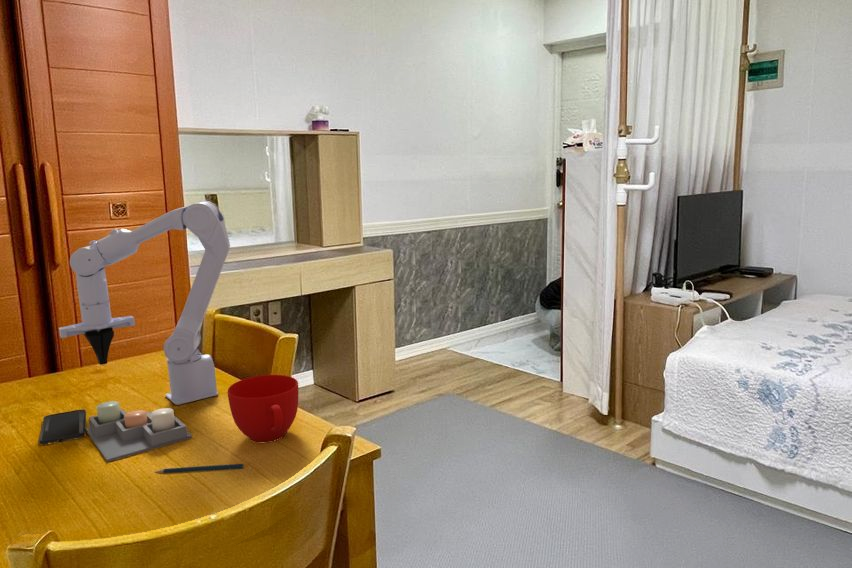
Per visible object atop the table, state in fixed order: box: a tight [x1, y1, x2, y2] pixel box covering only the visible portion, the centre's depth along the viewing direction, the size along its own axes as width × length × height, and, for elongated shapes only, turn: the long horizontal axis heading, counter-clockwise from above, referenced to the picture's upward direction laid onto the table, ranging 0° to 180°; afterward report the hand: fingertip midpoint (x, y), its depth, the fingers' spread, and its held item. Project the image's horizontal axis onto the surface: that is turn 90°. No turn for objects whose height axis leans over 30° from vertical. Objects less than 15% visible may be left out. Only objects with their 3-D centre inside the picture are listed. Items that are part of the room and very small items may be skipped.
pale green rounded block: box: [96, 400, 121, 424], centre depth 130 cm, size 4×4×3 cm
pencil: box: [155, 463, 245, 474], centre depth 112 cm, size 1×1×15 cm
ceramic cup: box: [227, 374, 299, 443], centre depth 122 cm, size 13×17×10 cm
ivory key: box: [151, 407, 175, 433], centre depth 125 cm, size 4×4×3 cm
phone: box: [38, 408, 87, 445], centre depth 132 cm, size 8×1×15 cm
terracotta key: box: [124, 409, 148, 429], centre depth 127 cm, size 4×4×3 cm
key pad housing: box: [85, 408, 193, 463], centre depth 128 cm, size 15×18×3 cm
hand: (102, 363), depth 143 cm, fingers closed
